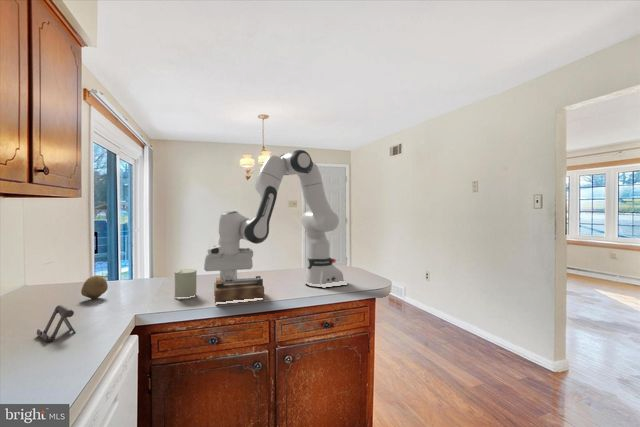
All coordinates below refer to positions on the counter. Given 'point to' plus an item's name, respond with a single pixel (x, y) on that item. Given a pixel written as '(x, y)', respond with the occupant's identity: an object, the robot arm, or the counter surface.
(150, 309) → the counter surface
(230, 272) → the skincare box
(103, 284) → the natural sponge
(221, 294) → the latch base
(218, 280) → the strap
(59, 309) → the portable electronic device stand
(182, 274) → the can
